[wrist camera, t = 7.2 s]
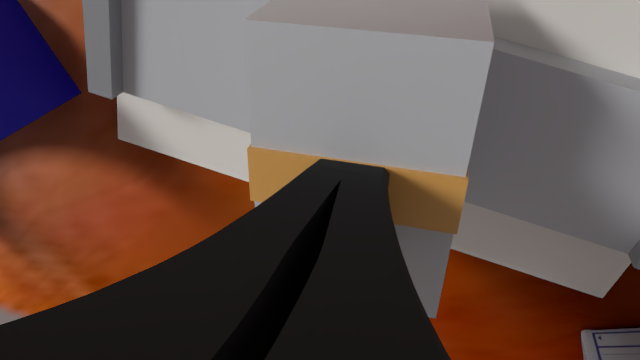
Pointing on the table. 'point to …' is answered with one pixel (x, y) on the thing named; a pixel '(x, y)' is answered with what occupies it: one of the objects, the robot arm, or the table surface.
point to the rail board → (490, 136)
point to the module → (373, 106)
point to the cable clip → (27, 72)
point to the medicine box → (611, 344)
